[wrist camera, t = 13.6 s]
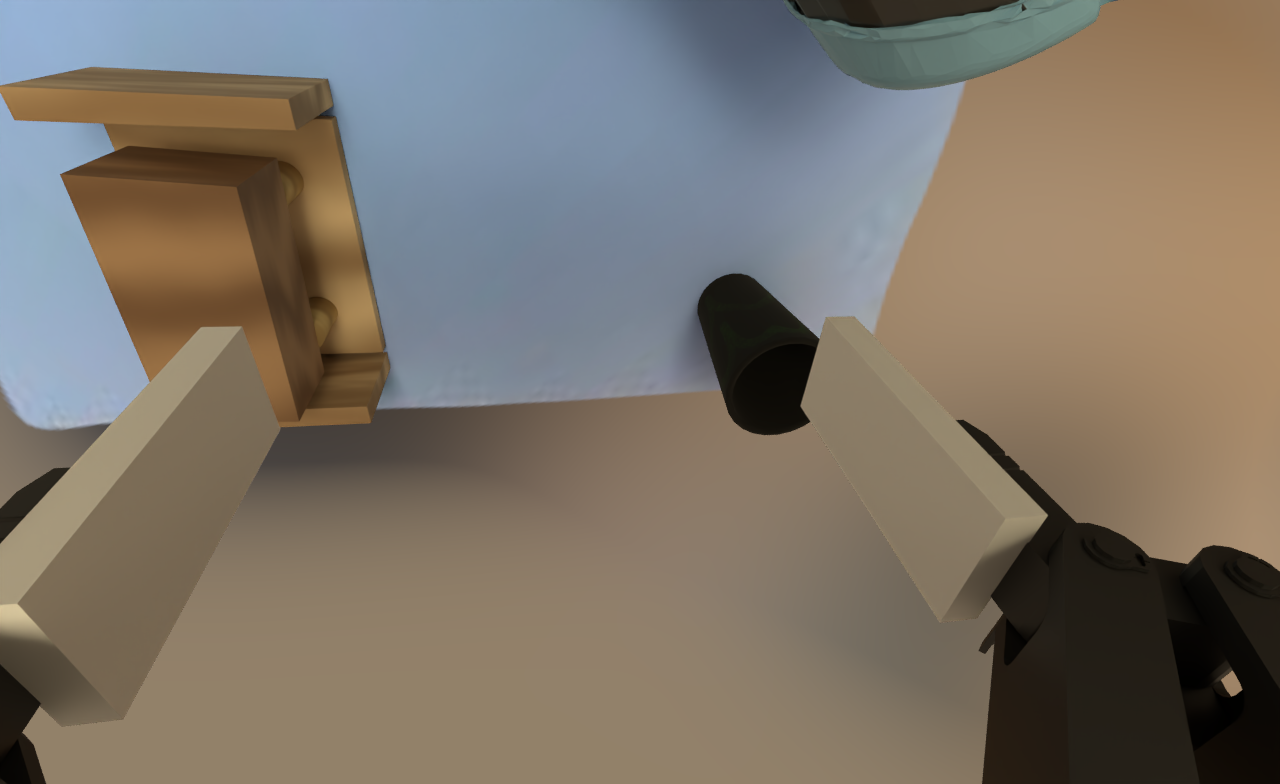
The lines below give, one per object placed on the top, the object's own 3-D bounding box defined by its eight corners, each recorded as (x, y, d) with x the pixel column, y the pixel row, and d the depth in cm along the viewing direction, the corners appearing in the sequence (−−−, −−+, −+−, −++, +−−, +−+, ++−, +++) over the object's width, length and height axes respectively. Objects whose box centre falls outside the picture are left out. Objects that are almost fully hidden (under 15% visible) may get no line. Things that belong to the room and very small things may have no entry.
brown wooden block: (324, 371, 39) (299, 421, 35) (208, 370, 38) (167, 421, 33) (276, 157, 31) (236, 186, 27) (128, 145, 30) (60, 174, 26)
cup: (689, 354, 49) (730, 446, 39) (679, 272, 44) (722, 354, 35) (777, 334, 49) (838, 421, 39) (775, 251, 45) (844, 326, 35)
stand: (91, 66, 31) (-3, 86, 26) (327, 78, 33) (287, 99, 28) (220, 372, 43) (174, 431, 37) (390, 367, 45) (371, 423, 39)
